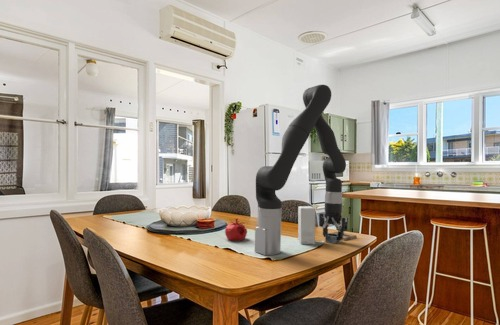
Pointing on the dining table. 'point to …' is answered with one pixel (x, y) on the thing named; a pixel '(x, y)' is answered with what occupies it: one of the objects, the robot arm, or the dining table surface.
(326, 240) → the steel ring
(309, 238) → the skincare box
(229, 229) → the pomegranate
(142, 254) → the dining table surface
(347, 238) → the piston stand
